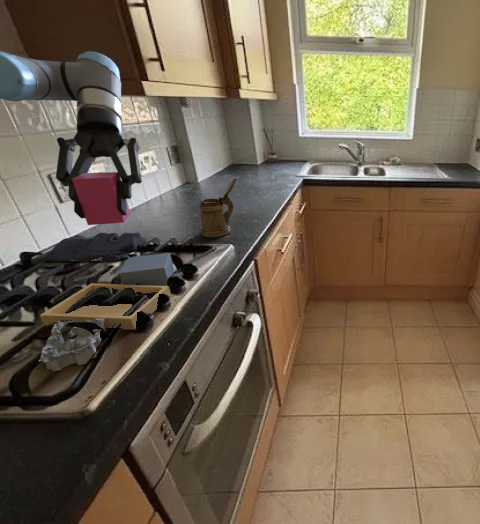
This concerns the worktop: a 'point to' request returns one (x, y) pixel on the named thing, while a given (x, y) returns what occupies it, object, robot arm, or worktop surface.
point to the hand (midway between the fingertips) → (101, 213)
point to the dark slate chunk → (96, 247)
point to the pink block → (99, 197)
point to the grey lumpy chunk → (70, 346)
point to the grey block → (147, 270)
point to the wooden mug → (217, 214)
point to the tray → (104, 307)
